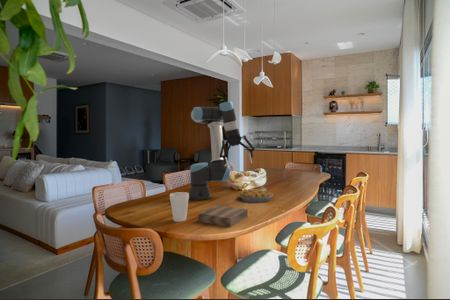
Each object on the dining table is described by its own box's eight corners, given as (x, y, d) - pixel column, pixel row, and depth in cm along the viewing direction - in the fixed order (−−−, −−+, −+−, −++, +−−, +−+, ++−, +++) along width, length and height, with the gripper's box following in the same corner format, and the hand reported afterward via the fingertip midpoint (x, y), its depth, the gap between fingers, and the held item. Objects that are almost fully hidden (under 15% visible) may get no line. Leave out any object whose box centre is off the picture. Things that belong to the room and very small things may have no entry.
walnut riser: (198, 221, 142) (198, 213, 142) (217, 212, 157) (217, 205, 157) (230, 226, 133) (230, 218, 133) (247, 216, 148) (247, 209, 148)
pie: (278, 201, 182) (278, 193, 182) (246, 204, 176) (246, 196, 176) (264, 194, 203) (264, 187, 203) (234, 196, 197) (234, 189, 197)
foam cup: (173, 223, 139) (172, 196, 138) (167, 218, 147) (167, 193, 146) (192, 220, 143) (191, 194, 142) (185, 216, 151) (185, 191, 151)
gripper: (209, 134, 160) (218, 171, 162) (253, 124, 158) (262, 162, 160) (210, 133, 167) (219, 169, 169) (253, 124, 165) (261, 160, 167)
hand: (240, 165), depth 165 cm, fingers open, 13 cm apart
